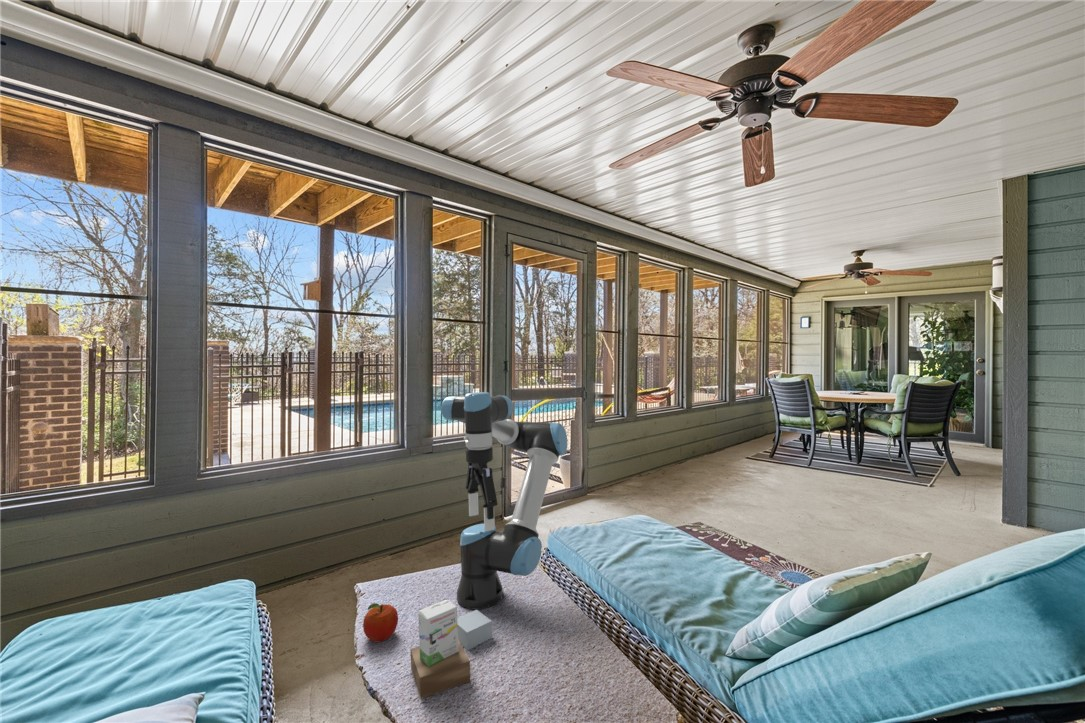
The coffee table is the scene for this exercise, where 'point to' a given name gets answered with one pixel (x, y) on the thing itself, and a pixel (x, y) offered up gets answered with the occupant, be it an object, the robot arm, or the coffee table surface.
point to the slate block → (473, 629)
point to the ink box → (438, 632)
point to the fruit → (380, 622)
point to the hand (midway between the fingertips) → (481, 522)
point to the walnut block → (440, 672)
